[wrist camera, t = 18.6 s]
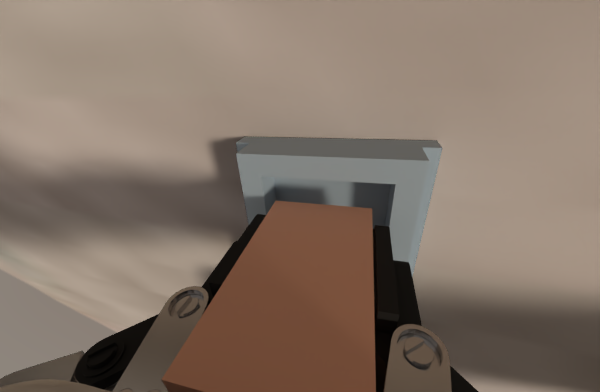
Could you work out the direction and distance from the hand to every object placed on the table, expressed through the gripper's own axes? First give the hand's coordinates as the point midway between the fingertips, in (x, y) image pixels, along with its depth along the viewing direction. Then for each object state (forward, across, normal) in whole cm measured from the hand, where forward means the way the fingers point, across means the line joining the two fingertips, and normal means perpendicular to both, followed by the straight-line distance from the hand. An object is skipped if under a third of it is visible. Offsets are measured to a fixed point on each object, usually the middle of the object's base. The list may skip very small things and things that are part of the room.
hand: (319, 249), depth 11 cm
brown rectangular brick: (+1, 0, 0) cm, 1 cm away
